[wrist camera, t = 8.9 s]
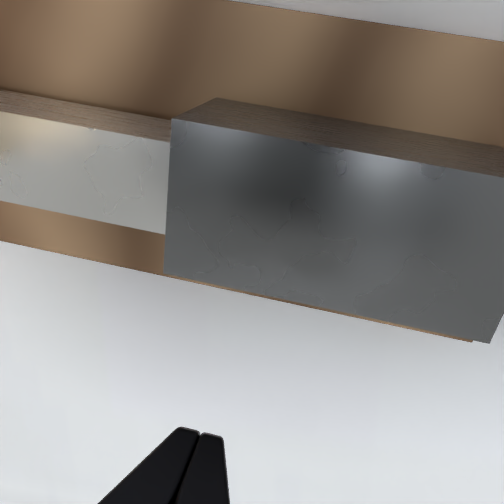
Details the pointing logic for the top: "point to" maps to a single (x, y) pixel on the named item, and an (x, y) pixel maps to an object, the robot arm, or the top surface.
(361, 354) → the top surface
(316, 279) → the grey rectangular block
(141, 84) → the walnut board
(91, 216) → the sliding bolt with handle
